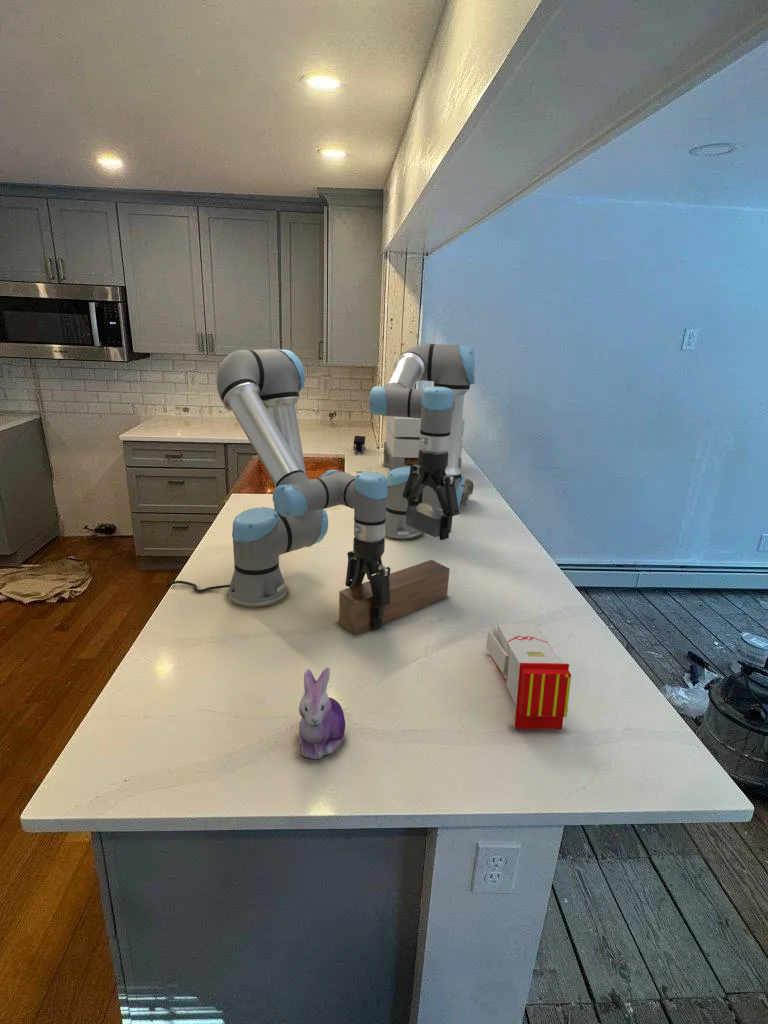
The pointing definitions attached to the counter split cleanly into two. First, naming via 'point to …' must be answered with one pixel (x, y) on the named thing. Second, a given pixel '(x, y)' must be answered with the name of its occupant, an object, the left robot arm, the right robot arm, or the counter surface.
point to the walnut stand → (394, 595)
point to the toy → (531, 675)
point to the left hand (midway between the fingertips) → (366, 620)
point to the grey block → (425, 519)
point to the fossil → (466, 491)
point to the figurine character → (359, 443)
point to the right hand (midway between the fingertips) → (427, 531)
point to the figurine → (319, 718)
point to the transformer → (405, 442)
